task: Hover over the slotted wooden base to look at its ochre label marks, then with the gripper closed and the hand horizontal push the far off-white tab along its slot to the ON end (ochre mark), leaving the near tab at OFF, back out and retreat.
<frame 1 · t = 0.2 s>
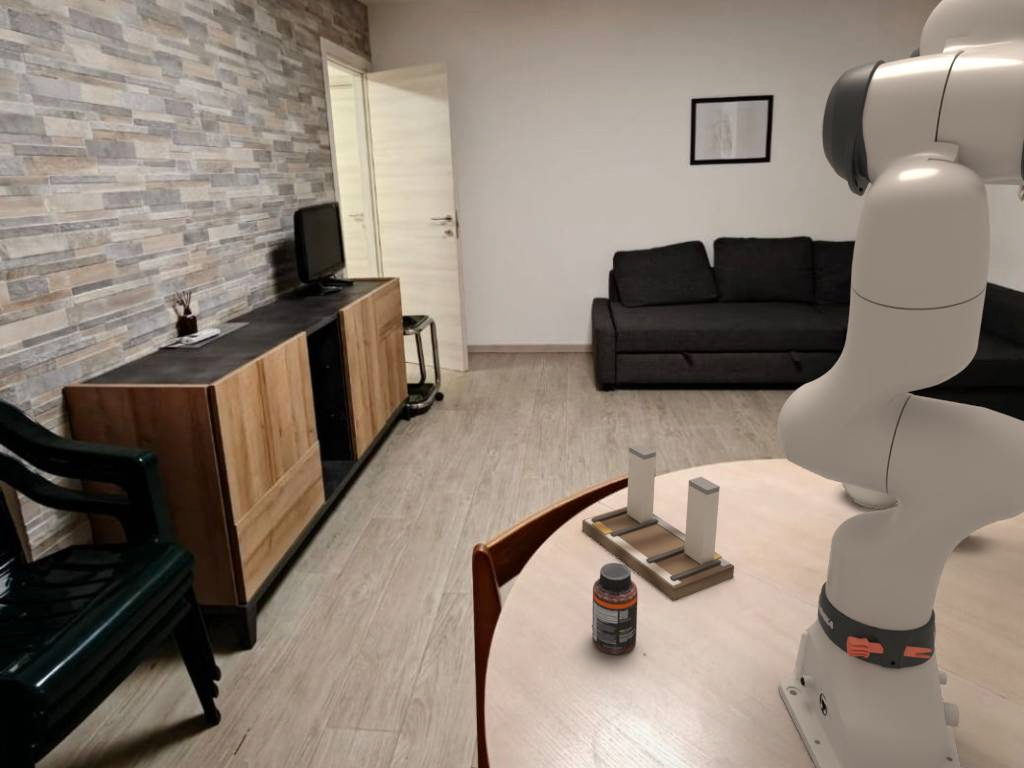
hand: (1009, 206, 112), 54 cm above the table, tool tilted 30°, fingers open, 8 cm apart
slotted wooden base: (653, 552, 121), on the table
supplement bottle: (613, 643, 99), on the table
lidded bowl: (871, 501, 137), on the table
food container: (936, 539, 123), on the table
tab B: (641, 483, 126), point 9 cm above the table, slide at 0.0 cm, touching slotted wooden base
tab A: (701, 520, 113), point 9 cm above the table, slide at 0.0 cm, touching slotted wooden base
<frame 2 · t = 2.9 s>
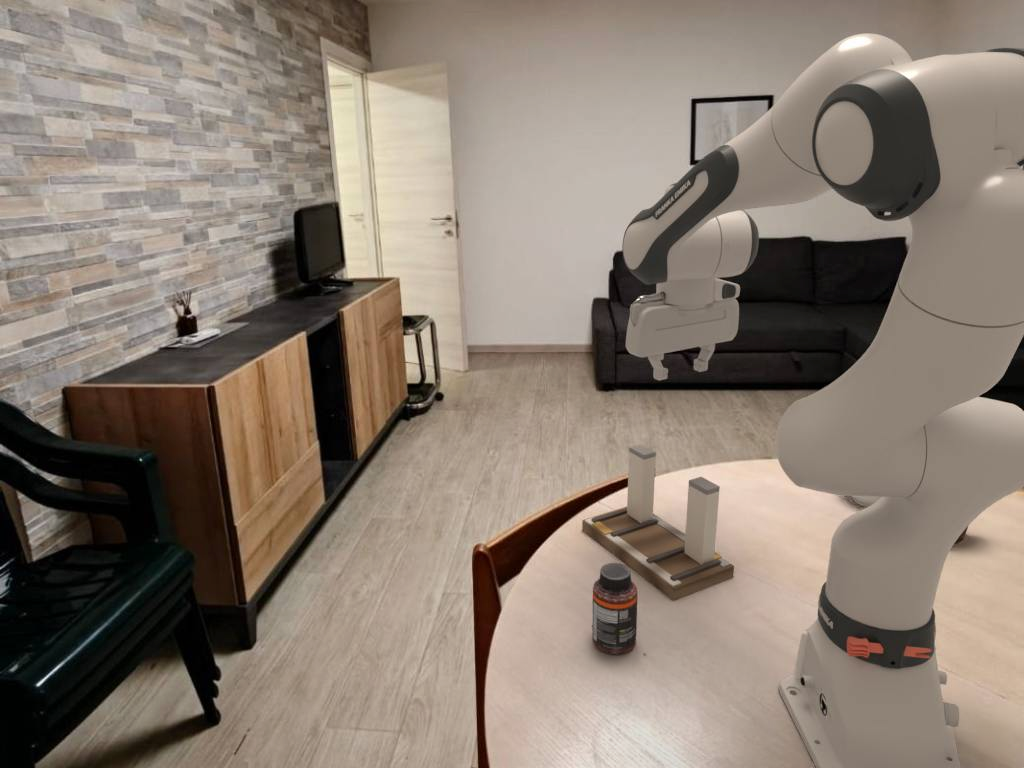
hand: (680, 374, 117), 29 cm above the table, tool pointing down, fingers open, 7 cm apart
nothing on the table moved.
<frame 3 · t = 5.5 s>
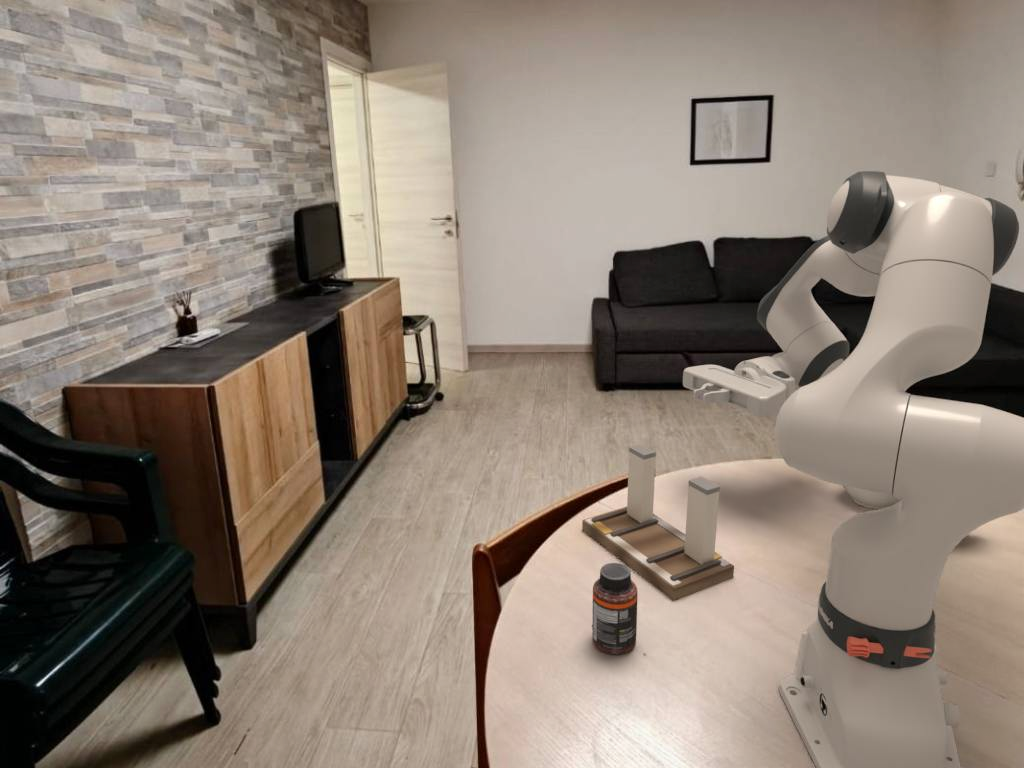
hand: (698, 397, 127), 22 cm above the table, tool horizontal, fingers closed
nothing on the table moved.
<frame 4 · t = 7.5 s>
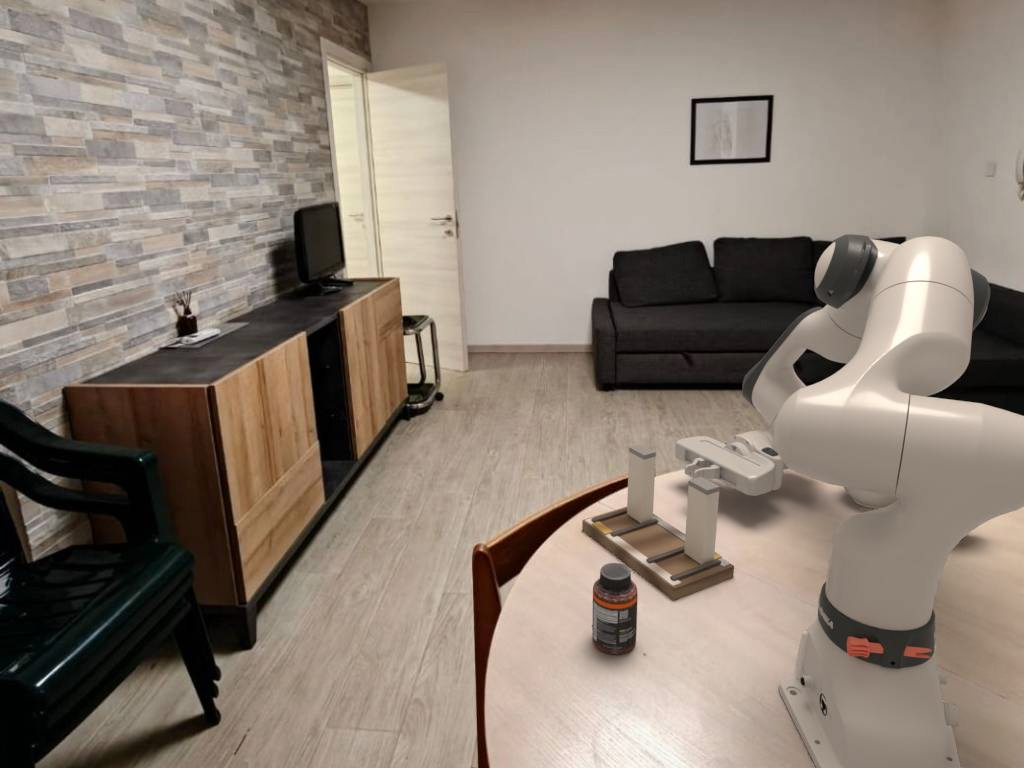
hand: (690, 473, 131), 8 cm above the table, tool horizontal, fingers closed
nothing on the table moved.
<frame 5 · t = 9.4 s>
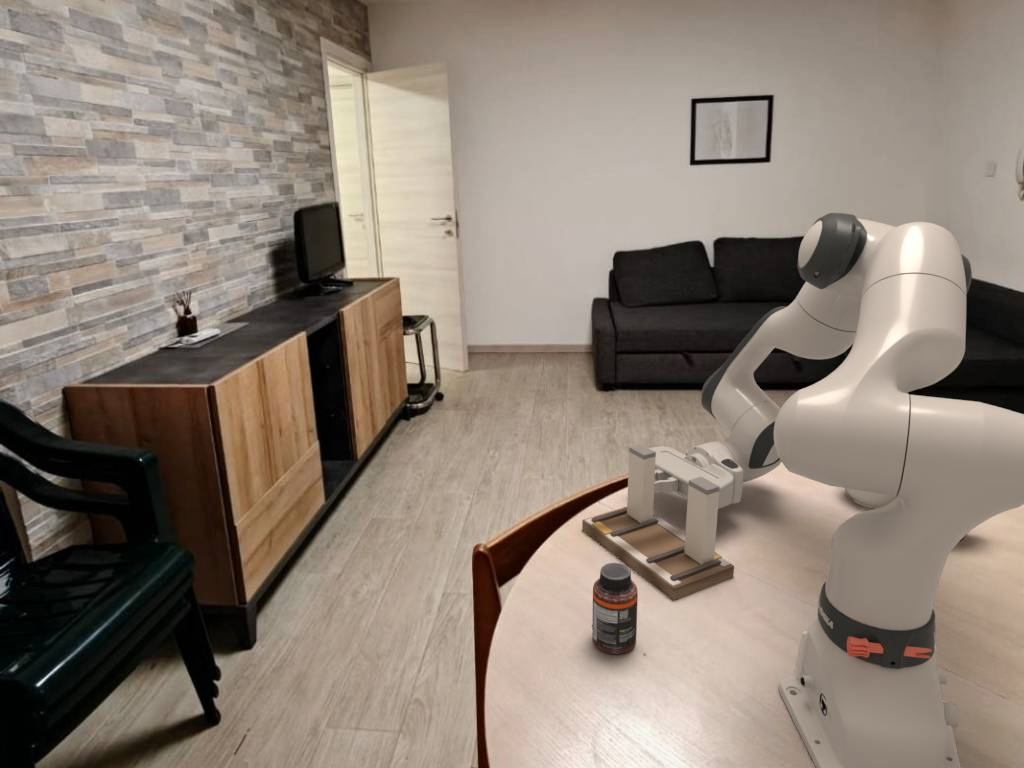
hand: (646, 485, 126), 8 cm above the table, tool horizontal, fingers closed, pressing on tab B
tab B: (641, 483, 126), point 9 cm above the table, slide at 0.0 cm, touching gripper, slotted wooden base
everything else where it was.
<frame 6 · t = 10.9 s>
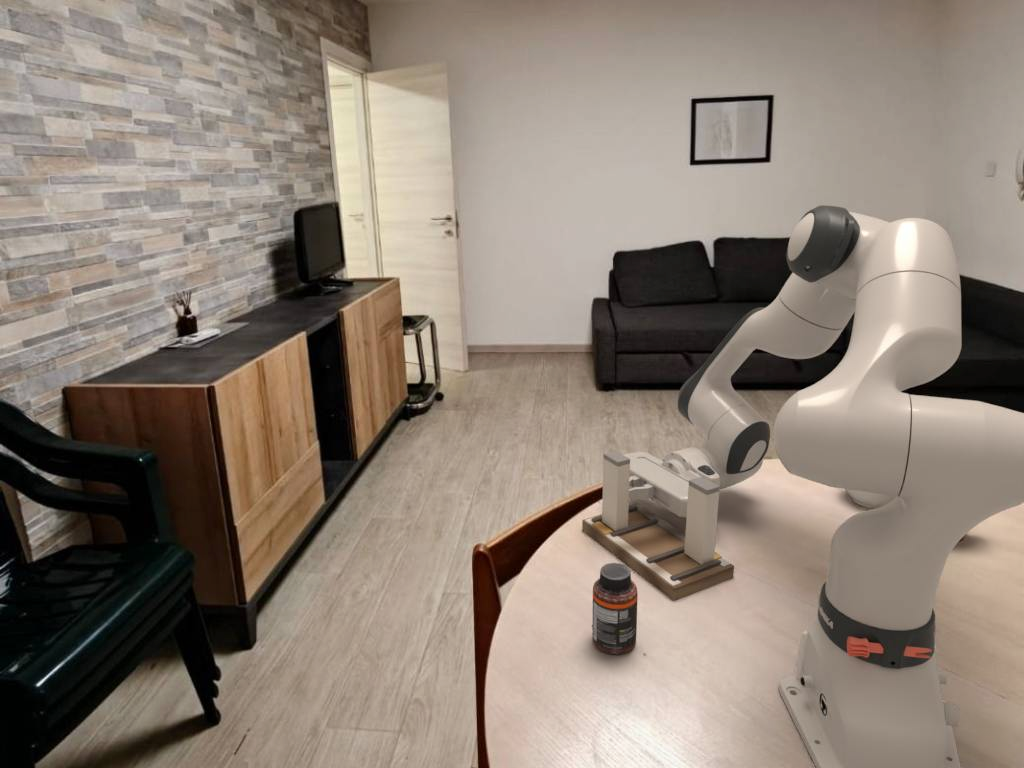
hand: (622, 492, 124), 8 cm above the table, tool horizontal, fingers closed, pressing on tab B
tab B: (615, 491, 123), point 9 cm above the table, slide at 5.4 cm, touching gripper
everything else where it was.
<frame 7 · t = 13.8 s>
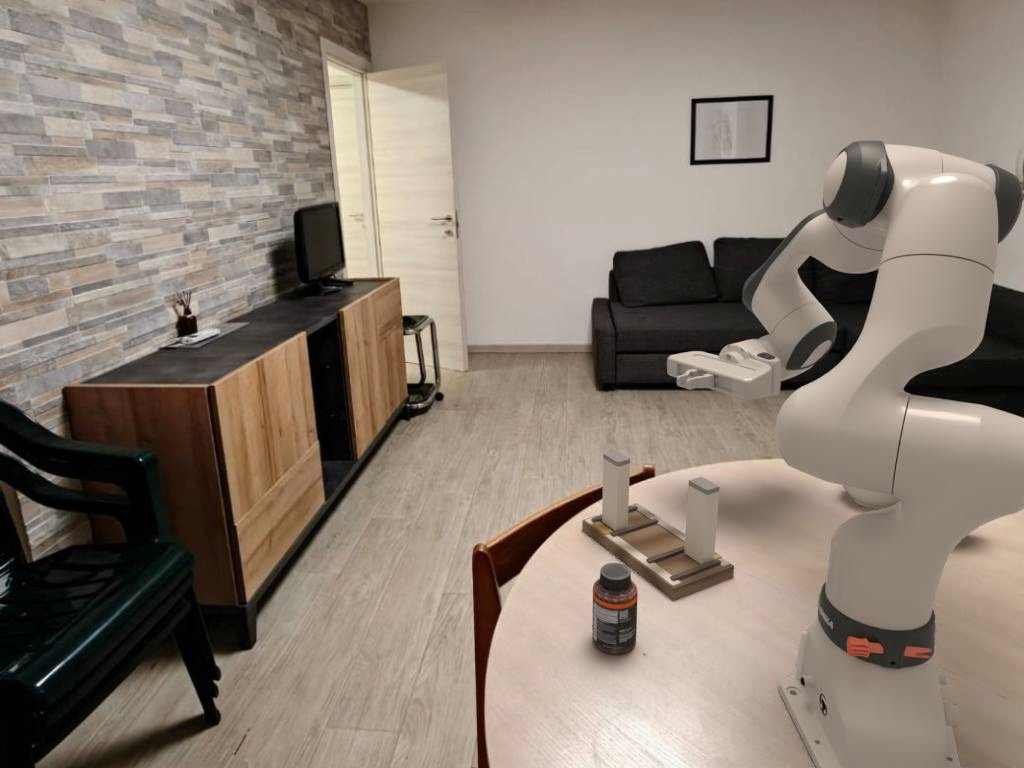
hand: (682, 383, 123), 26 cm above the table, tool horizontal, fingers closed
tab B: (615, 491, 123), point 9 cm above the table, slide at 5.4 cm
everything else where it was.
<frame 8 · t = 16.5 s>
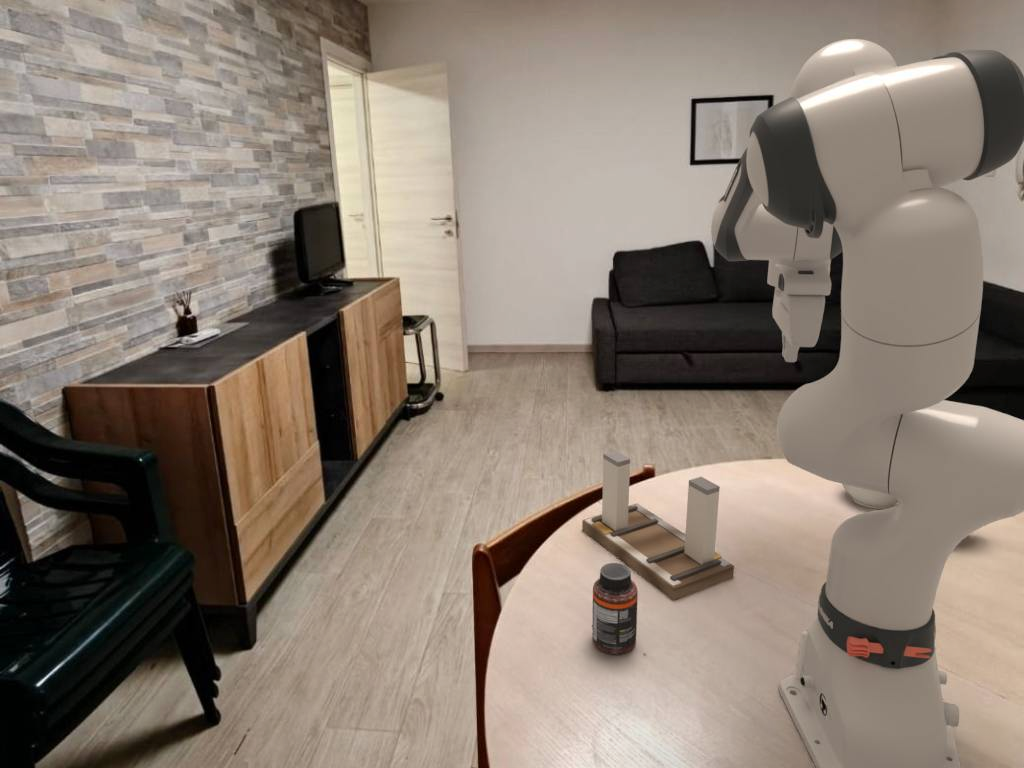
hand: (789, 359, 116), 31 cm above the table, tool pointing down, fingers closed
nothing on the table moved.
at the end: tab B slide at 5.4 cm; tab A slide at 0.0 cm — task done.
